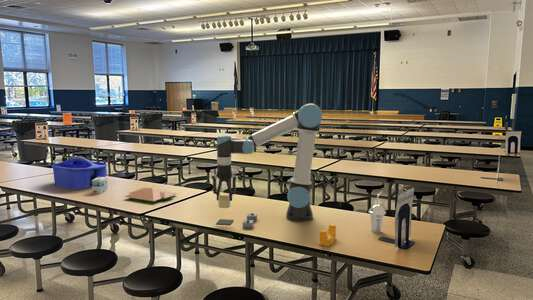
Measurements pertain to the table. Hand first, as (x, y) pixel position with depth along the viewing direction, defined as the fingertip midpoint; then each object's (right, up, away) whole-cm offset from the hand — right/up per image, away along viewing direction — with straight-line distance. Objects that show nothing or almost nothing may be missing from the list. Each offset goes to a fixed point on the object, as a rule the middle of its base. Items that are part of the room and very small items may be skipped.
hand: (224, 206), depth 203 cm
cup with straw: (+79, -11, -12) cm, 81 cm away
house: (-56, -3, +51) cm, 76 cm away
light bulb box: (-98, -1, +68) cm, 119 cm away
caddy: (-124, +2, +92) cm, 154 cm away
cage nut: (0, 0, 0) cm, 0 cm away
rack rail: (+14, -9, -1) cm, 17 cm away
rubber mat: (0, -9, +1) cm, 9 cm away
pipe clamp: (+53, -13, -26) cm, 60 cm away
